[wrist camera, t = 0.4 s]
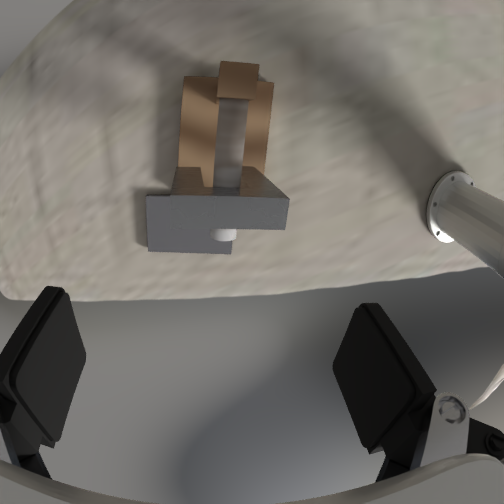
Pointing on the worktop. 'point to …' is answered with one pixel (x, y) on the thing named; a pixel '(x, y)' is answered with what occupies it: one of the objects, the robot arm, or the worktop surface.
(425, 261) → the worktop surface
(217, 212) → the grey u-shaped bracket
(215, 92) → the hook stand
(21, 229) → the worktop surface
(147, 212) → the rubber mat
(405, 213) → the worktop surface
